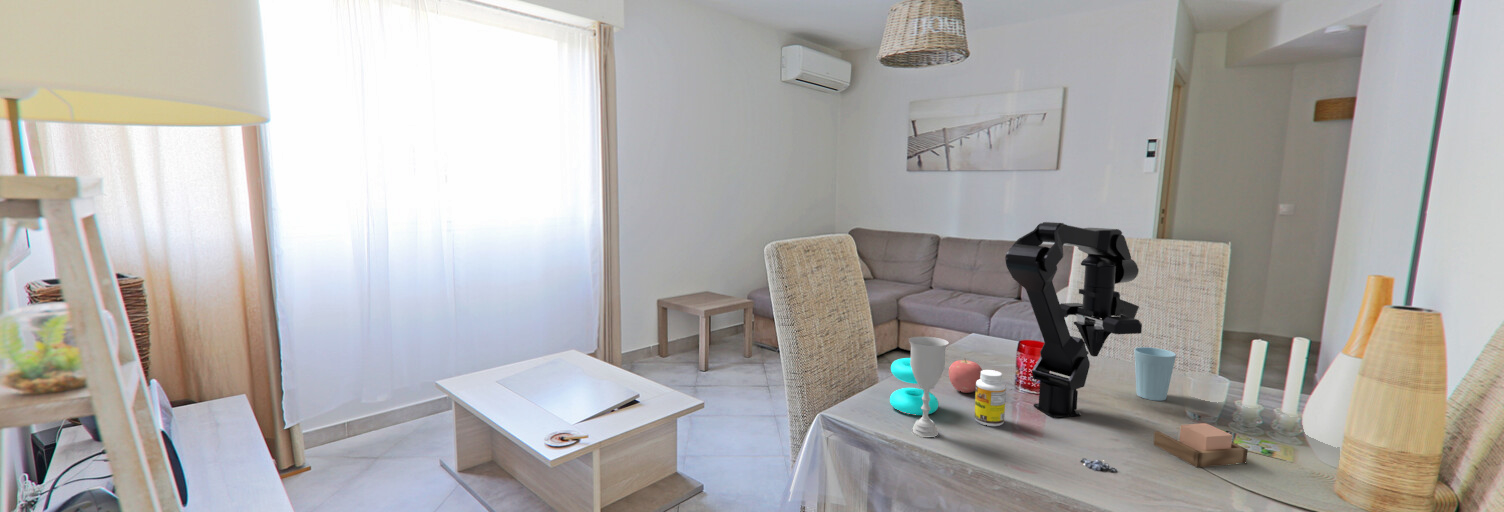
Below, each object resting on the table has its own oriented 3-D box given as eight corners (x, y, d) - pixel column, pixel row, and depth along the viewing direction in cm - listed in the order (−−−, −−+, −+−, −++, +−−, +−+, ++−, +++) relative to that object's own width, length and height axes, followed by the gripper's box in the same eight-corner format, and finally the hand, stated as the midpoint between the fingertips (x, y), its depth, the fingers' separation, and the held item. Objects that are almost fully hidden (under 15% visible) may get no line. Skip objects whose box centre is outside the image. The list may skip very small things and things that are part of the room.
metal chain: (1077, 457, 103) (1077, 447, 103) (1130, 467, 98) (1130, 456, 98) (1069, 472, 98) (1068, 461, 98) (1124, 483, 93) (1124, 471, 92)
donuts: (881, 361, 123) (910, 353, 129) (879, 406, 124) (909, 396, 130) (920, 373, 115) (949, 364, 121) (918, 421, 116) (947, 410, 122)
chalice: (945, 428, 113) (948, 338, 111) (944, 442, 107) (948, 347, 105) (906, 423, 115) (909, 335, 113) (903, 436, 109) (906, 344, 107)
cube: (1203, 464, 98) (1206, 436, 98) (1178, 451, 103) (1180, 424, 103) (1229, 462, 99) (1232, 435, 99) (1202, 449, 104) (1205, 423, 103)
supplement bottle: (969, 416, 119) (971, 368, 118) (996, 416, 119) (998, 368, 118) (981, 427, 113) (983, 377, 112) (1009, 427, 114) (1011, 376, 112)
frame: (1196, 467, 97) (1198, 453, 97) (1153, 444, 106) (1154, 431, 106) (1246, 463, 99) (1247, 449, 98) (1199, 441, 107) (1200, 428, 107)
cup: (1141, 388, 136) (1145, 345, 134) (1178, 398, 129) (1183, 353, 128) (1123, 394, 132) (1127, 349, 131) (1161, 405, 125) (1165, 358, 124)
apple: (948, 395, 131) (949, 361, 130) (947, 384, 138) (948, 352, 137) (983, 398, 129) (985, 364, 128) (980, 388, 136) (982, 354, 135)
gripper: (1168, 292, 117) (1162, 367, 119) (1100, 278, 136) (1096, 343, 137) (1119, 294, 116) (1113, 369, 117) (1057, 279, 134) (1053, 345, 136)
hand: (1093, 356), depth 127 cm, fingers closed
